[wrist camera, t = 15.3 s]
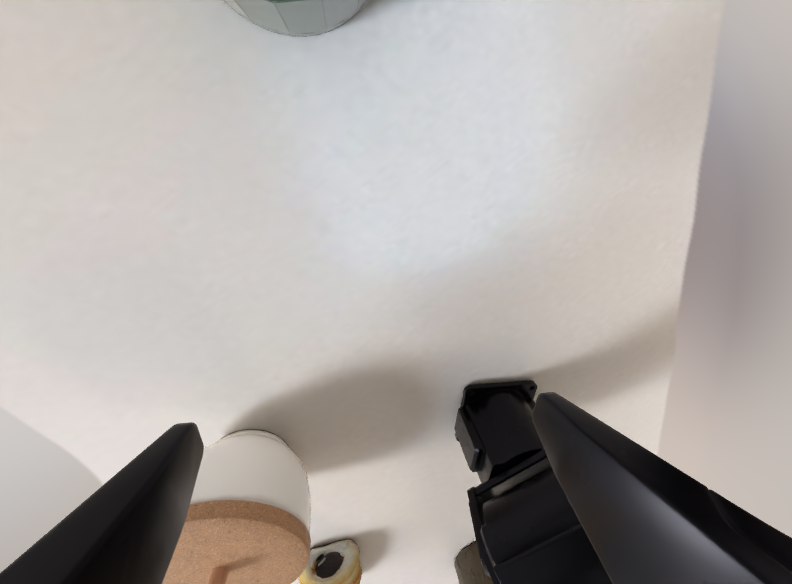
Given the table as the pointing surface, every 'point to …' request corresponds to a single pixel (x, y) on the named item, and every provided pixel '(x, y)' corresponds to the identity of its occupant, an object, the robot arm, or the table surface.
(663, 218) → the table surface
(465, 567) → the pillar candle
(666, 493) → the robot arm
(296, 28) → the cup
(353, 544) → the pastry
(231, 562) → the trinket box
